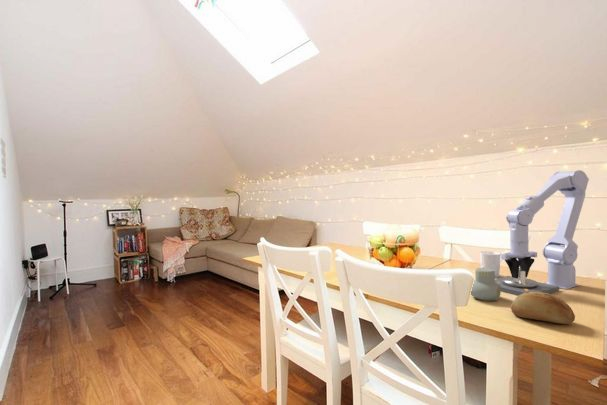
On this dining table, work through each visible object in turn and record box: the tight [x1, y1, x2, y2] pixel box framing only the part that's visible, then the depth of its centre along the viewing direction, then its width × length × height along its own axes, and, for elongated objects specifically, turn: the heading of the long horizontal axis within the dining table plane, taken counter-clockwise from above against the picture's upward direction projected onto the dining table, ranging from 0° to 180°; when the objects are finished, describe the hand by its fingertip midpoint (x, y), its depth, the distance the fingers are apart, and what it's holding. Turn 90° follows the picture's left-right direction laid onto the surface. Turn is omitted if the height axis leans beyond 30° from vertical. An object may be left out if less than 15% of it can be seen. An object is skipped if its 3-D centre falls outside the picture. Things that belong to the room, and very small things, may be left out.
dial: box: [502, 267, 538, 288], centre depth 125 cm, size 11×11×6 cm
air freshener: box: [470, 267, 502, 302], centre depth 115 cm, size 11×8×10 cm
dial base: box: [495, 275, 560, 296], centre depth 125 cm, size 18×18×2 cm
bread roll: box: [510, 292, 576, 325], centre depth 95 cm, size 10×15×8 cm, turn 53°
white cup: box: [479, 250, 502, 278], centre depth 144 cm, size 8×8×10 cm
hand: (519, 277), depth 125 cm, fingers closed on dial, 4 cm apart
